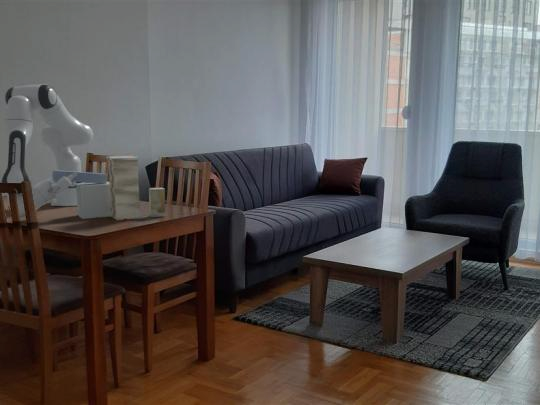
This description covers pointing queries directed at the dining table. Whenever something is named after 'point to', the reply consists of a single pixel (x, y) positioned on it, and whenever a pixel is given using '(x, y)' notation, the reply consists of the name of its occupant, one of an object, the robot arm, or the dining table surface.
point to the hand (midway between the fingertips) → (75, 172)
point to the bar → (81, 176)
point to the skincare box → (156, 202)
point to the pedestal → (124, 187)
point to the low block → (93, 200)
